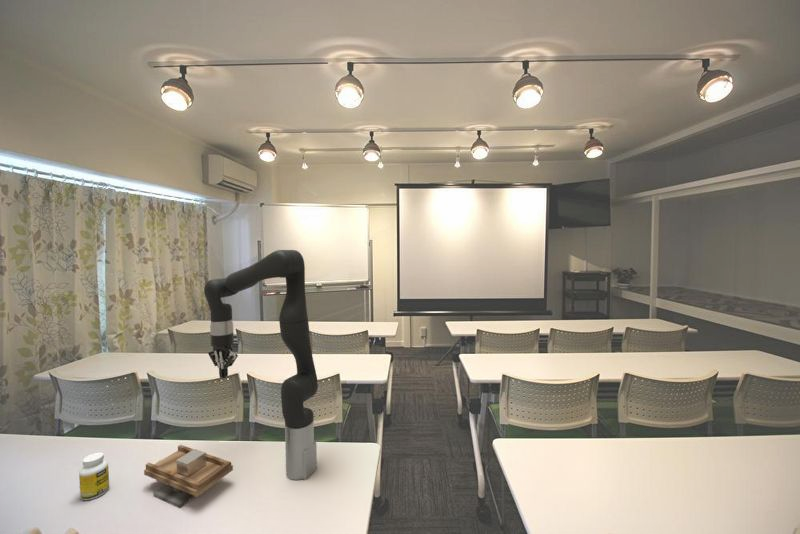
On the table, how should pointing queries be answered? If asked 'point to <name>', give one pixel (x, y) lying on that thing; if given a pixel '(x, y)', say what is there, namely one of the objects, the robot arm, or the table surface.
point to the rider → (191, 462)
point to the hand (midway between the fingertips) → (223, 377)
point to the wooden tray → (185, 477)
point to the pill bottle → (94, 476)
